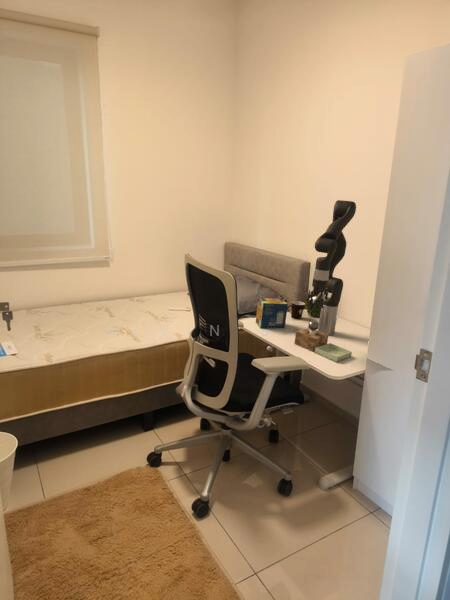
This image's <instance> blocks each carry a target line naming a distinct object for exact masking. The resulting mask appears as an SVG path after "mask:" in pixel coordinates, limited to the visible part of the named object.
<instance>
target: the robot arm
mask: <svg viewBox="0 0 450 600" xmlns="http://www.w3.org/2000/svg"><path fill="white" fill-rule="evenodd" d="M356 211H357V204H356V202H355V201H352V200H351V201H350V200H342V199H340V200H336V201H335V203H334V205H333V212H332V222H331V223H330V224H329V225H328V227H327V229H326V230H325V232H324V233H323V234H321V235H320V236H319V237H318V238H317V240H316V241H315V242H314V249H315V251H316V252H318V253H321V254H322V253H323V254H326V255H325V256H320V257H317V258H316V260H315V265H314V267H315V268H314V271H313V277H312V283H311V286H312V288H313V289H309V290H308V294H307V298H306V302H308V303H309V304H308V305H309V306H308V310H310V311H313V310H314V308H315V307H314V306H315V302H316V301H317V300H318V299H319V303H318V307H319V308H320V314H319V319H318V323H319V325H318V329H317V331H320V332H322V333H325V334H328V336H334V333H335V330H336V325H337V320H338V317H337V314H338V309H339V304H340V301H341V297H342V293H343V287H344V281H343V279H342V278H338V277H335V276H334V275H333V274H334V271H335V269H336V267H337V266H338V264H339V263H340V262H341V261H342V260H343V258H344V257H345V254H346V250H347V240H346V237H345V235H344V232H343V230H344V229H345V228H346V226H348V224H349V223H350V222H351V221H352V219H353V218H354V217H355V214H356ZM329 294H331V295H330V296H329Z"/></svg>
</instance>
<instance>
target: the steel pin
mask: <svg viewBox="0 0 450 600" xmlns="http://www.w3.org/2000/svg"><path fill="white" fill-rule="evenodd" d="M318 325H319V321H316V320H315V321H314V320H310V321H308V327H307V328H310V331H309V334H311V335H315V333H316V330H318Z"/></svg>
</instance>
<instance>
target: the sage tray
mask: <svg viewBox="0 0 450 600" xmlns="http://www.w3.org/2000/svg"><path fill="white" fill-rule="evenodd" d="M314 354H316V355H318V356H319V357H323V358H326V359H327V360H329V361H332V362H334V363H339V362H341V361H344V360H347V359H350V358H352V356H353V355H352V354H353V351H350V350H349V349H347V348H343V347H341V346H338V345H336V344H333V343H331V342H329V343H327V344H326V345H323V346H320V347H317V348H315V351H314Z"/></svg>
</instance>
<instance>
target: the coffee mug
mask: <svg viewBox="0 0 450 600" xmlns="http://www.w3.org/2000/svg"><path fill="white" fill-rule="evenodd" d="M305 305H306V303H305V302H303V301H299V300H293V301H291V304H290V305H288V307H287V312H288V313H289V314H290V315H291V316H290V317H291V319H294V320H301V319H302V318H303V314H304V313H303V312H304V309H305ZM289 307H291V308H290V309H291V310H289Z"/></svg>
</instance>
